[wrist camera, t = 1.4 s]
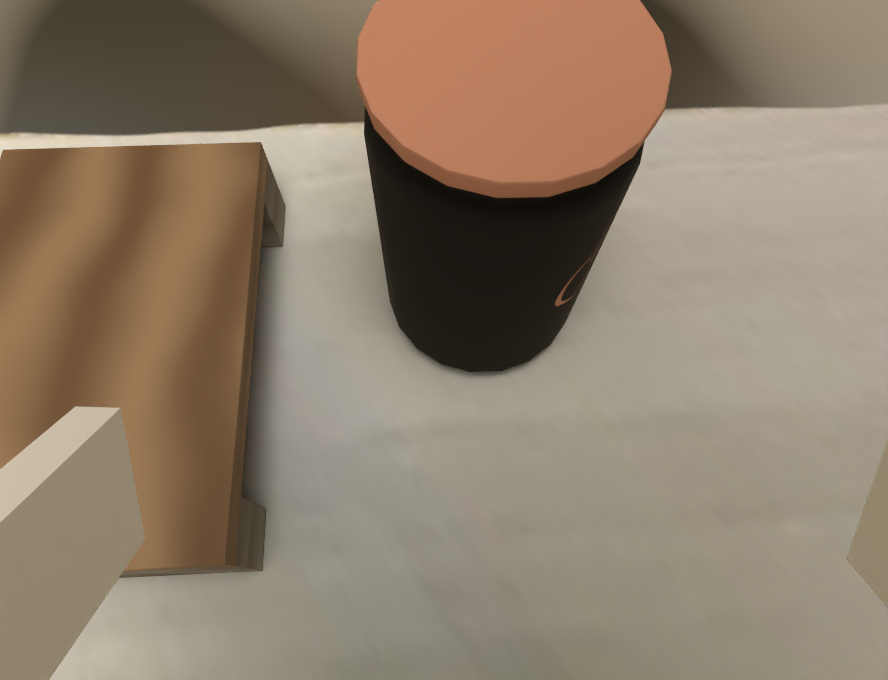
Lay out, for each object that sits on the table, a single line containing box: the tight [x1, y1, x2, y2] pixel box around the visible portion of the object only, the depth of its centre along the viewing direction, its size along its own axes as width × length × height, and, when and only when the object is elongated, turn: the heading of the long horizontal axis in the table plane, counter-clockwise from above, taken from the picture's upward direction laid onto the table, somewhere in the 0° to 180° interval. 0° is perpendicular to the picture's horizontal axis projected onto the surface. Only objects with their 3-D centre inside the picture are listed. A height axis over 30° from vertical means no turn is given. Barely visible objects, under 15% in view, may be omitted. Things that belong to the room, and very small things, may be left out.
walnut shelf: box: [0, 142, 285, 578], centre depth 32 cm, size 14×22×6 cm, turn 3°
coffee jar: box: [356, 0, 672, 372], centre depth 29 cm, size 11×11×18 cm
